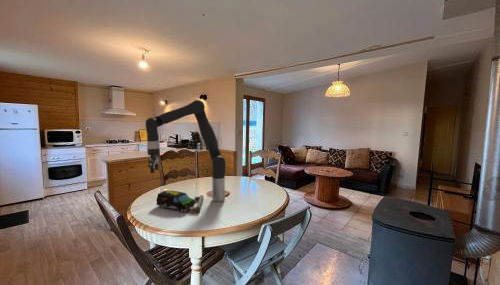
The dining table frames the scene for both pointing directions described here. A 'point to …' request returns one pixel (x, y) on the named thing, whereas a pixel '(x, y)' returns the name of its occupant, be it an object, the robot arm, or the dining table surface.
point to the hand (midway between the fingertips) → (154, 171)
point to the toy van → (175, 200)
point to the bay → (199, 205)
